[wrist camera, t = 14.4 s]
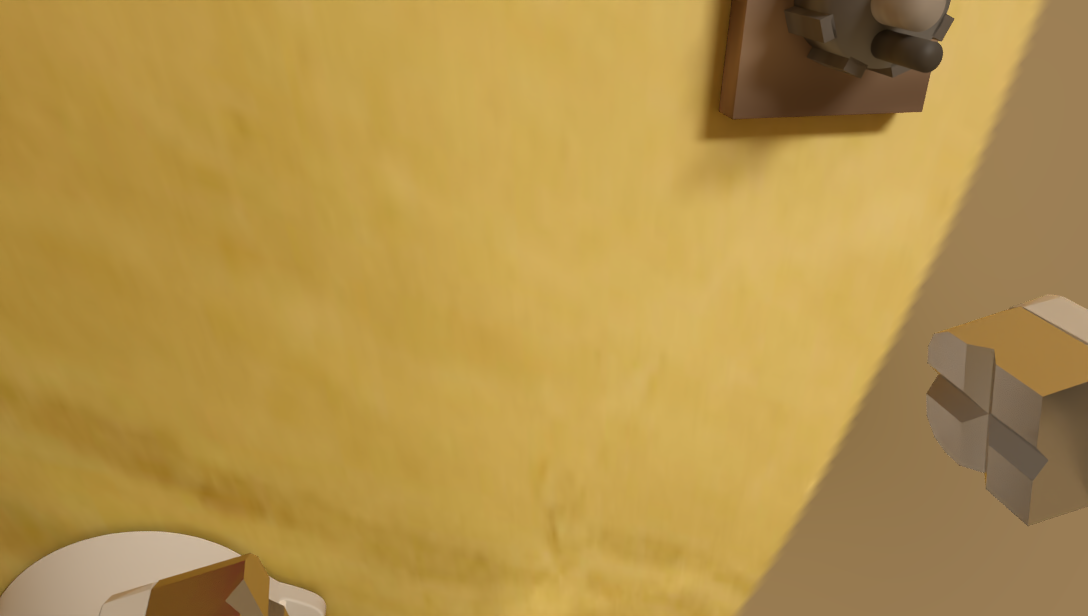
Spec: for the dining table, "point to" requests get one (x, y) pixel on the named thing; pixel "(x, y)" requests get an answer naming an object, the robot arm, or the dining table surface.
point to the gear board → (830, 56)
